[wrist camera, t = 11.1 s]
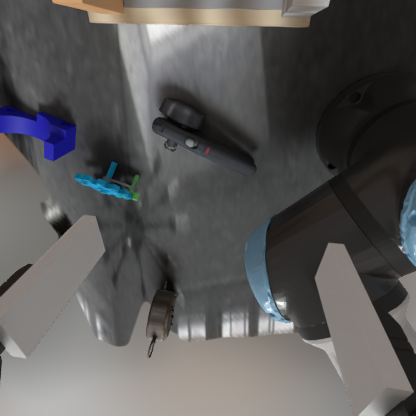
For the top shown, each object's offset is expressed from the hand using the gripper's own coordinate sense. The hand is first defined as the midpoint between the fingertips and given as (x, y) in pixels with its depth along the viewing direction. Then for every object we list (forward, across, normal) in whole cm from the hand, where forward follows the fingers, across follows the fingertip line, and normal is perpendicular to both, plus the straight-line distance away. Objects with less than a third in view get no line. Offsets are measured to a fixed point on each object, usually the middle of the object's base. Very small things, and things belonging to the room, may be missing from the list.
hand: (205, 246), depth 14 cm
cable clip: (+29, +34, +2) cm, 45 cm away
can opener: (+29, +4, +3) cm, 30 cm away
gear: (+29, +22, +12) cm, 38 cm away
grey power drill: (+29, +13, +44) cm, 54 cm away
